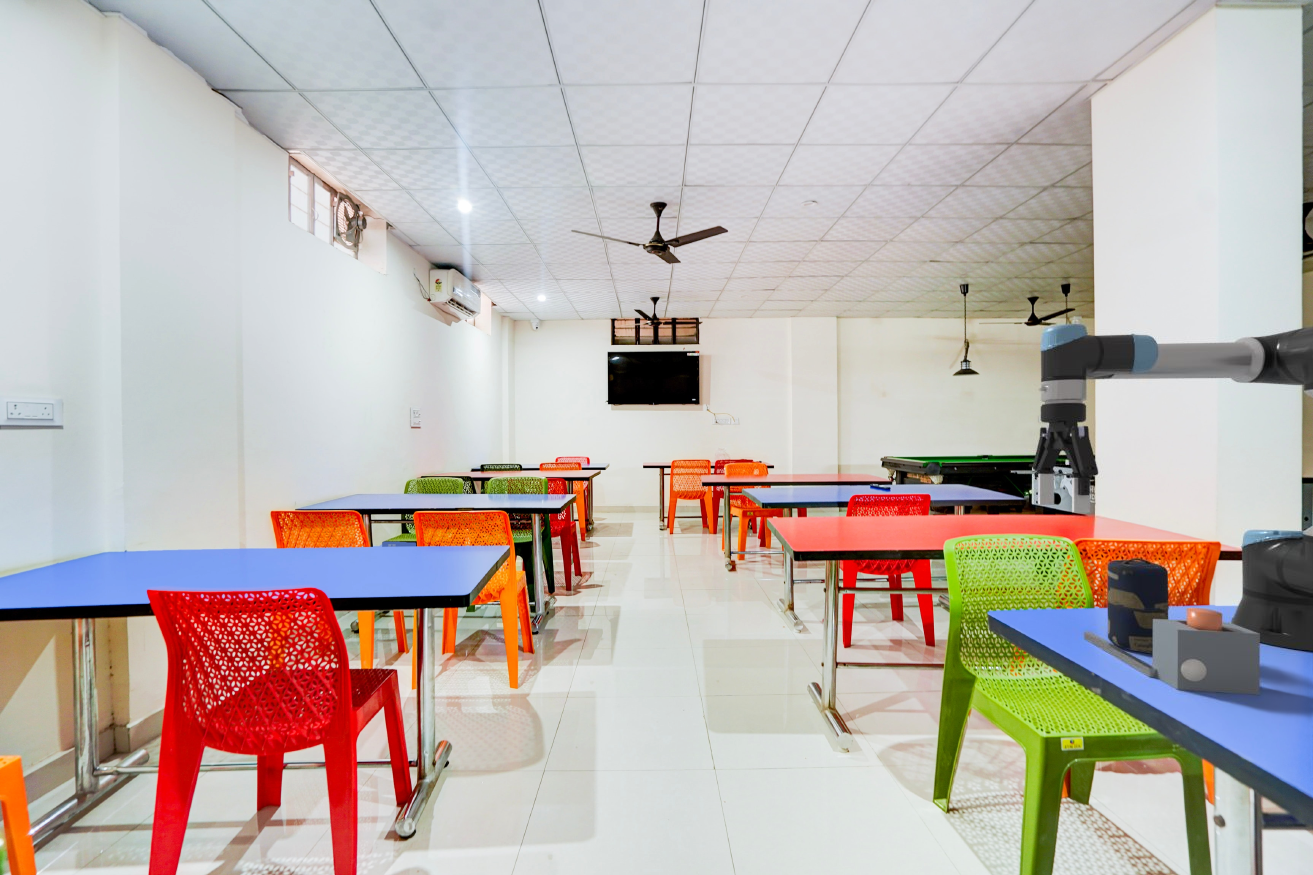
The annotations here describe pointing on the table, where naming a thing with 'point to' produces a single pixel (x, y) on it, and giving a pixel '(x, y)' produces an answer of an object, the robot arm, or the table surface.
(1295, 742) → the table surface
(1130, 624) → the canister
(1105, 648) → the rail track
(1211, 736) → the table surface
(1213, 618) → the button
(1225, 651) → the end cabinet
